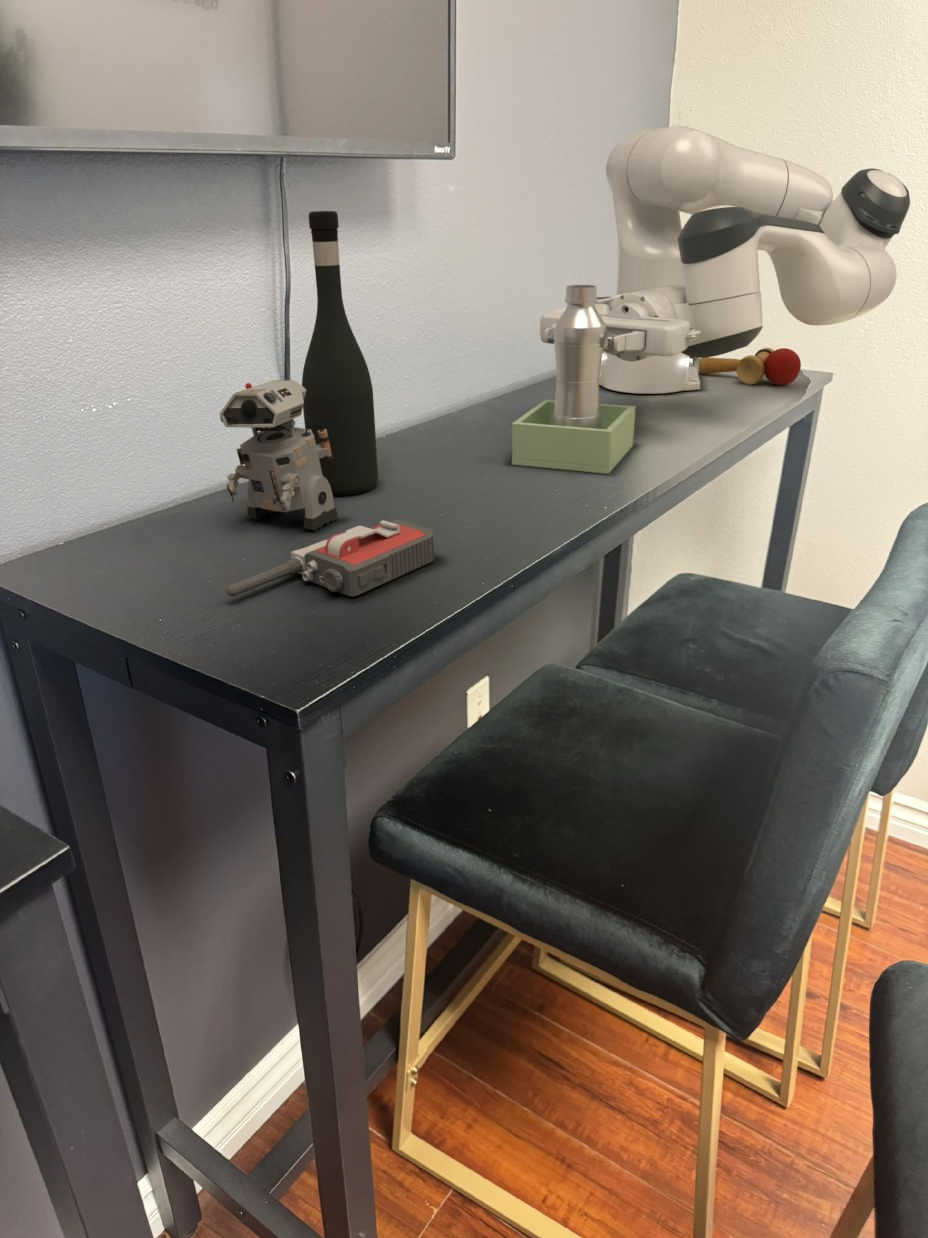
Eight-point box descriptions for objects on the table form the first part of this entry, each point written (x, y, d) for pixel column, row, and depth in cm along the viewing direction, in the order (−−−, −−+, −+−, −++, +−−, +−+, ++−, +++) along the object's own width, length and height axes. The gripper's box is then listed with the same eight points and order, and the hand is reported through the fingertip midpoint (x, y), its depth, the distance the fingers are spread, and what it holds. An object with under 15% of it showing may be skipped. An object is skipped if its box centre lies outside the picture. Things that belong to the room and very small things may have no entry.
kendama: (689, 385, 160) (787, 384, 148) (691, 348, 158) (790, 344, 146) (711, 386, 165) (806, 385, 153) (713, 350, 164) (810, 346, 152)
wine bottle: (331, 474, 111) (308, 209, 98) (389, 480, 109) (373, 209, 96) (298, 494, 105) (269, 212, 91) (360, 501, 102) (338, 212, 89)
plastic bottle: (541, 445, 119) (544, 285, 110) (587, 439, 121) (594, 282, 112) (561, 457, 113) (566, 290, 104) (609, 452, 115) (618, 287, 106)
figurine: (211, 537, 93) (188, 391, 86) (282, 504, 102) (266, 369, 95) (280, 552, 89) (262, 400, 82) (347, 516, 98) (336, 376, 91)
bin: (543, 437, 125) (544, 399, 123) (633, 445, 121) (635, 406, 119) (511, 464, 114) (511, 423, 112) (608, 474, 110) (611, 431, 107)
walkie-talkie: (383, 537, 92) (222, 603, 78) (381, 496, 90) (214, 556, 76) (448, 557, 87) (286, 631, 73) (447, 514, 85) (281, 582, 71)
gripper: (705, 358, 117) (651, 375, 107) (573, 342, 129) (515, 357, 119) (710, 307, 114) (655, 320, 104) (575, 296, 126) (516, 307, 116)
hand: (579, 340), depth 112 cm, fingers open, 8 cm apart
